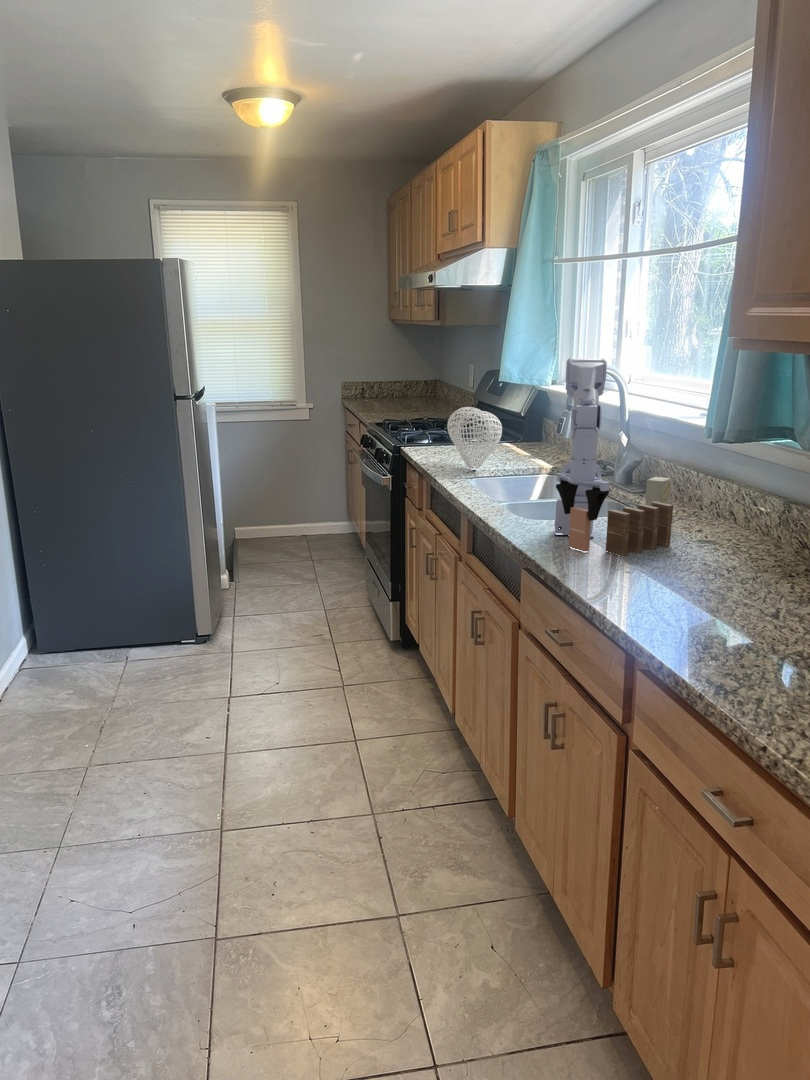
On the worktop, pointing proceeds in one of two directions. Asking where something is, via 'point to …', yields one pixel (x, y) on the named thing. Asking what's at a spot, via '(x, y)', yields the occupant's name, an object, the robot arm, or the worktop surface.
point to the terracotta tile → (579, 529)
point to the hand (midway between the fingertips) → (580, 516)
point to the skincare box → (657, 490)
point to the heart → (458, 438)
